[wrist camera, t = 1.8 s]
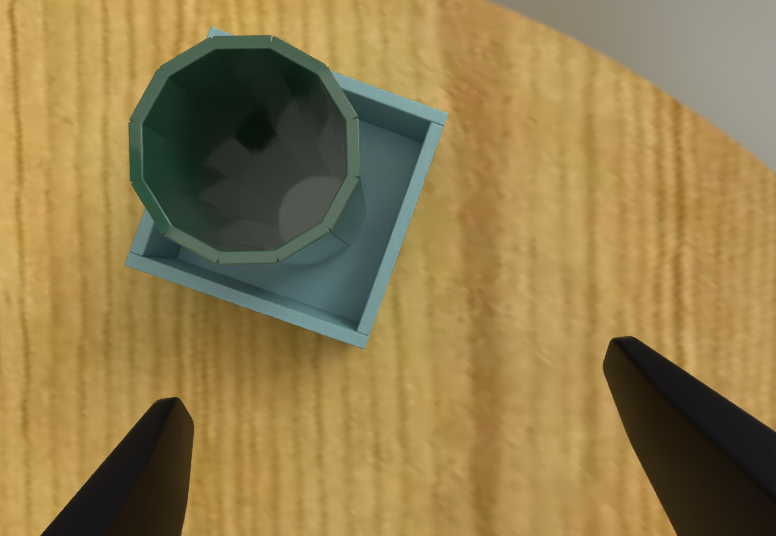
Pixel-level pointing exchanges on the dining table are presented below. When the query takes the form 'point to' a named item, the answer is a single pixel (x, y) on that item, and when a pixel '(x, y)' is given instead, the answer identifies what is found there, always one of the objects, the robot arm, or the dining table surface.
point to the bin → (350, 267)
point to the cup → (249, 154)
